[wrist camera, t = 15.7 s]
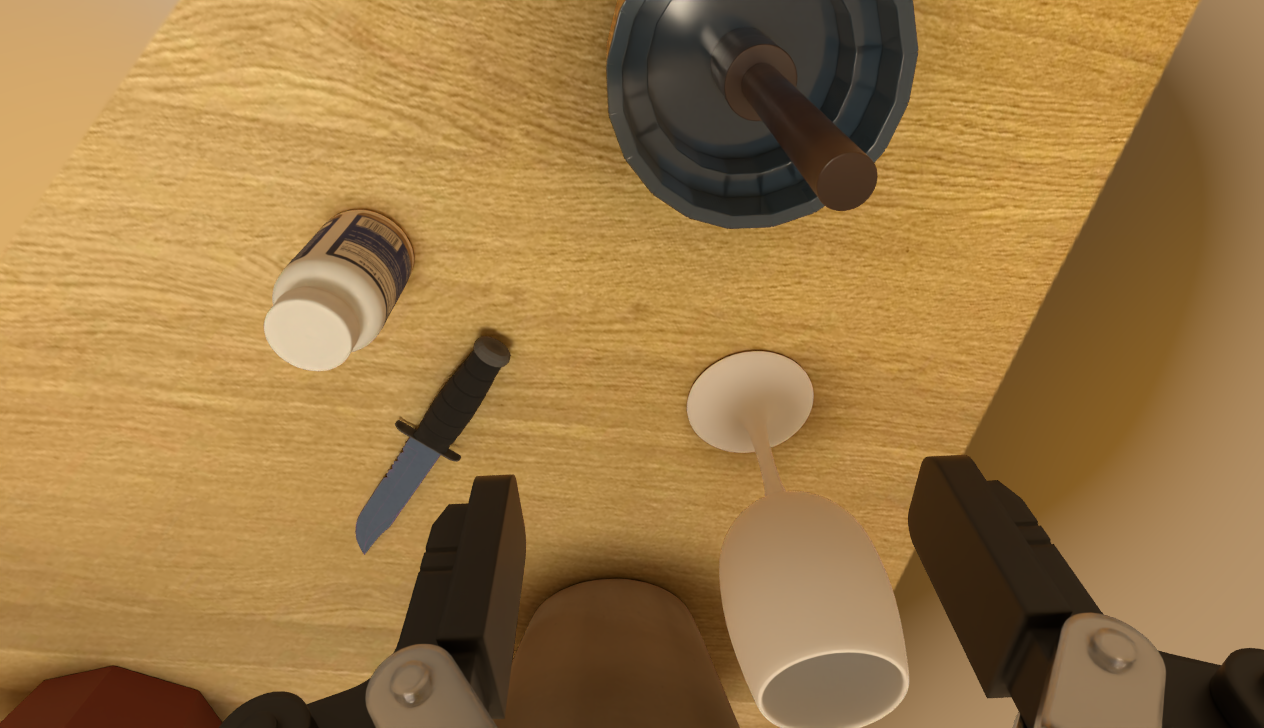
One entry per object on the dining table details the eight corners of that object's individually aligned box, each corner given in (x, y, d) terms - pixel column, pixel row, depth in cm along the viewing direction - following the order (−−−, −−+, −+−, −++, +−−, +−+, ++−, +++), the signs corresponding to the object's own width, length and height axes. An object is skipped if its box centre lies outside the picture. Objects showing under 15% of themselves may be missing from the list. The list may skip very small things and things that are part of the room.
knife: (451, 332, 40) (522, 376, 41) (464, 313, 42) (532, 356, 43) (318, 545, 52) (376, 576, 53) (333, 523, 54) (389, 553, 55)
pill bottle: (340, 296, 41) (275, 390, 33) (307, 213, 38) (226, 293, 30) (427, 286, 41) (382, 377, 33) (400, 201, 38) (343, 279, 30)
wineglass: (668, 375, 45) (705, 666, 28) (794, 331, 44) (918, 611, 26) (709, 465, 50) (764, 763, 32) (825, 428, 48) (948, 721, 31)
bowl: (600, -96, 31) (598, -97, 26) (894, -106, 31) (949, -110, 26) (613, 191, 38) (614, 233, 33) (850, 182, 38) (886, 223, 33)
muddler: (711, 28, 33) (795, 125, 18) (777, 25, 33) (916, 121, 18) (709, 97, 35) (784, 238, 20) (771, 95, 35) (893, 234, 20)
